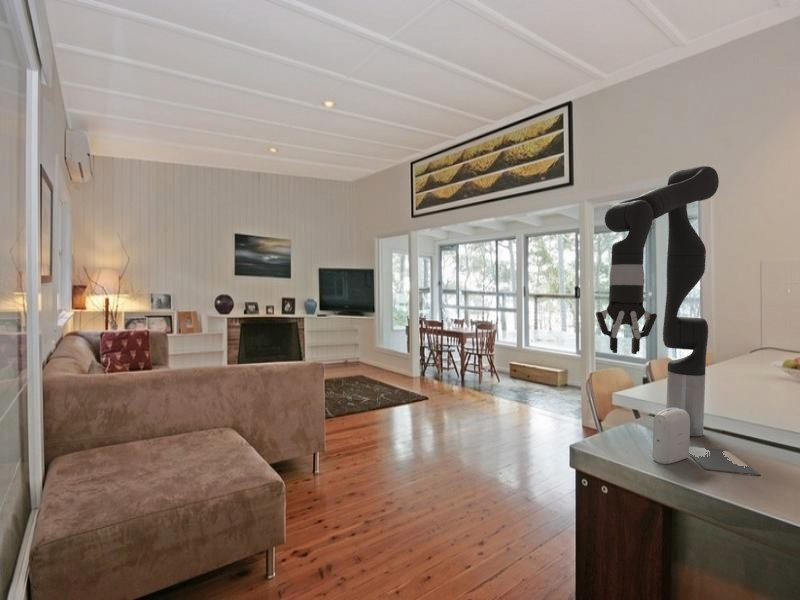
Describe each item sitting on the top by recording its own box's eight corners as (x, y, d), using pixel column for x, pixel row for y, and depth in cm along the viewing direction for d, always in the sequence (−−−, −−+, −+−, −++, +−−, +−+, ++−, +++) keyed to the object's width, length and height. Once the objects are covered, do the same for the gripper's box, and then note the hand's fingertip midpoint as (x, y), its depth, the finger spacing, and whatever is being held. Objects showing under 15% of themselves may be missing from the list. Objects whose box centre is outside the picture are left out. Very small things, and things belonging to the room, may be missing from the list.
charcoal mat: (679, 446, 116) (679, 444, 116) (726, 450, 113) (727, 449, 113) (704, 469, 100) (704, 468, 100) (760, 475, 97) (760, 474, 97)
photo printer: (667, 466, 102) (669, 413, 102) (649, 459, 106) (651, 408, 105) (691, 458, 107) (693, 408, 107) (673, 452, 111) (675, 404, 110)
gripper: (653, 284, 110) (651, 352, 110) (592, 283, 114) (590, 349, 114) (663, 283, 103) (661, 357, 103) (597, 283, 106) (595, 353, 107)
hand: (624, 352), depth 108 cm, fingers open, 3 cm apart
